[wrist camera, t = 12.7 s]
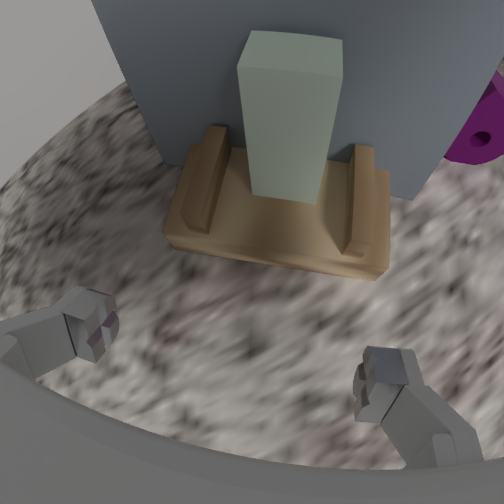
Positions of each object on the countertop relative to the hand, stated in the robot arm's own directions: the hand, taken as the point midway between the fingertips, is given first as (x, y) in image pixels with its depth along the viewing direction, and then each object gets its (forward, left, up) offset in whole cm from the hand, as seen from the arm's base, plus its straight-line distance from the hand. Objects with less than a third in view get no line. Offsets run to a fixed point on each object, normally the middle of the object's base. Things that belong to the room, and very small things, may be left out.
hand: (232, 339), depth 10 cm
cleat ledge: (0, -9, -11) cm, 14 cm away
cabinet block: (0, -11, -8) cm, 13 cm away
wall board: (0, -15, -11) cm, 19 cm away
